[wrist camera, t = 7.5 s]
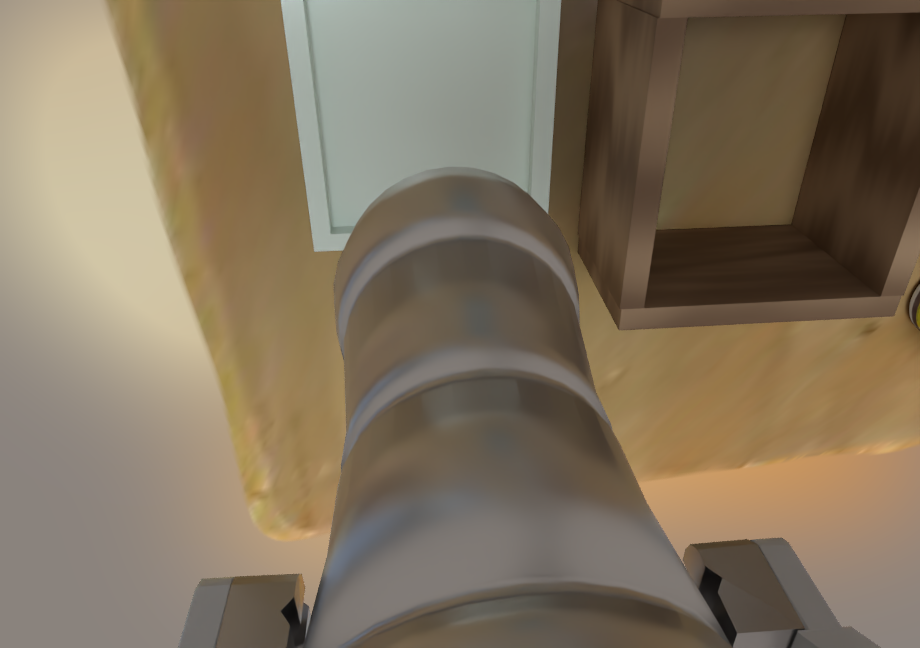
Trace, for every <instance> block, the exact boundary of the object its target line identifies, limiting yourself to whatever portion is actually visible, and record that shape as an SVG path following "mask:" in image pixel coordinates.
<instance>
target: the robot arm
mask: <svg viewBox="0 0 920 648" xmlns="http://www.w3.org/2000/svg"><path fill="white" fill-rule="evenodd" d="M683 561H684V564H685V566H686V569H687V571H688V573H689V574H690V576H691V578H692V579H693V581H694V583H695V584H696V586H697V588H698V590H699V591H700V593H701V595H702V596H703V598H704V600H705V601H706V603H707V605H708V606H709V608H710V610H711V611H712V613H713V615H714V616H715V618H716V620H717V621H718V623H719V625H720V627H721V628H722V630H723V632H724V634H725V635H726V637H727V639H728V641H729V643H730V644H731V646H732V647H733V648H881V647H880V646H878V645H877V644H875V643H874V642H872V641H871V640H870V639H868V638H867V637H865V636H864V635H862V634H861V633H860V632H858V631H857V630H855V629H854V628H852V627H841V625H840V624H839V622H838V621H837V619H836V617H835V616H834V614H833V613H832V611H831V609H830V608H829V606H828V604H827V603H826V601H825V600H824V598H823V597H822V595H821V593H820V592H819V590H818V589H817V587H816V585H815V584H814V582H813V581H812V579H811V577H810V576H809V574H808V573H807V571H806V569H805V568H804V566H803V565H802V563H801V561H800V560H799V558H798V557H797V555H796V554H795V552H794V550H793V549H792V547H791V546H790V544H789V543H788V542H787V541H786V540H784V539H783V538H769V539H756V540H747V539H745V540H734V541H722V542H712V543H699V544H690V545H689V546H688V547H687V548H686V549H685V553H684V557H683ZM304 593H305V585H304V581H303V577H302V574H285V575H262V576H240V577H224V578H207V579H201V581H200V582H199V584H198V586H197V587H196V589H195V592H194V595H193V599H192V602H191V605H190V609H189V612H188V615H187V619H186V622H185V625H184V629H183V632H182V636H181V639H180V642H179V646H178V648H303V645H304V642H305V638H306V634H307V630H308V626H309V623H310V619H311V616H310V610H309V606H308V605H306V604H305V603H304V602H303V601H304Z"/></svg>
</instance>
